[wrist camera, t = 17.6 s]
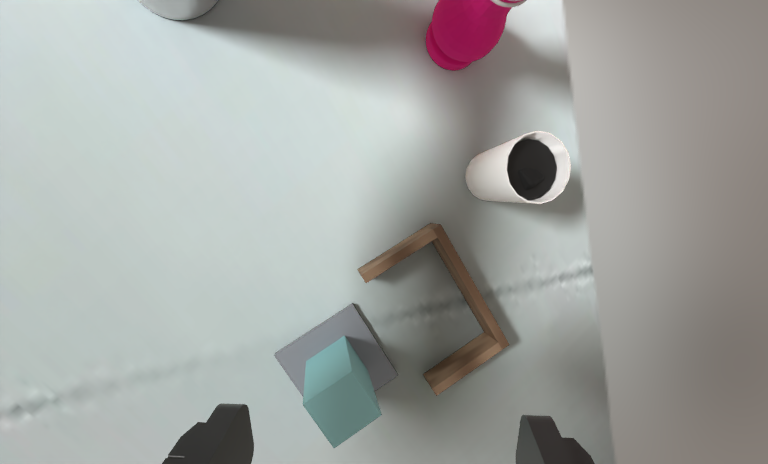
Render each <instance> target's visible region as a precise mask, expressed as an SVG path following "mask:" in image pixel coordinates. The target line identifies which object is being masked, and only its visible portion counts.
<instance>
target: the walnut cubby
mask: <svg viewBox="0 0 768 464" xmlns="http://www.w3.org/2000/svg"><path fill="white" fill-rule="evenodd" d="M431 241H432V243H433V245H434V246H435V248H436V250H437V252H438V253H439V255H440V257H441V258H442V260H443V262H444V264H445V265H446V267H447V269H448V271H449V272H450V274H451V276H452V277H453V279H454V281H455V283H456V284H457V286H458V288H459V289H460V291H461V293H462V295H463V296H464V298H465V300H466V302H467V303H468V305H469V307H470V308H471V310H472V312H473V314H474V315H475V317H476V319H477V321H478V322H479V324H480V326H481V327H482V329H483V331H484V333H482V334H481V335H479V336H478V337H476V338H475V339H473V340H472V341H471V342H469V343H468V344H466V345H465V346H463V347H462V348H460V349H459V350H458V351H456V352H455V353H453V354H452V355H450V356H449V357H447V358H446V359H444V360H443V361H442V362H440V363H439V364H437V365H436V366H434V367H433V368H431V369H430V370H429V371H427V372H426V373H424V374H423V375H424V377H425V378H426V380H427V382H428V383H429V385H430V386H431V388H432V390H433V391H434V393H435V394H436V396H437V395H438V394H440V393H441V392H443V391H444V390H446V389H447V388H448V387H450V386H451V385H453V384H454V383H456V382H457V381H458V380H460V379H461V378H463V377H464V376H465V375H467V374H468V373H470V372H471V371H473V370H474V369H475V368H477V367H478V366H480V365H481V364H483V363H484V362H485V361H487V360H488V359H490V358H491V357H493V356H494V355H495V354H497V353H498V352H500V351H501V350H502V349H504V348H505V347H507V346H508V345H509V343H508V341H507V340H506V338H505V336H504V334H503V333H502V331H501V329H500V327H499V326H498V324H497V322H496V320H495V319H494V317H493V315H492V313H491V312H490V310H489V308H488V306H487V305H486V303H485V301H484V299H483V298H482V296H481V294H480V292H479V291H478V289H477V287H476V285H475V284H474V282H473V280H472V278H471V277H470V275H469V273H468V271H467V270H466V268H465V266H464V264H463V263H462V261H461V259H460V257H459V256H458V254H457V252H456V250H455V249H454V247H453V245H452V243H451V242H450V240H449V238H448V236H447V235H446V233H445V231H444V229H443V228H442V226H441V224H434V223H430V224H428V225H427V226H425V227H424V228H422V229H421V230H419V231H417V232H416V233H414V234H413V235H411V236H409V237H408V238H406V239H405V240H403V241H402V242H400V243H398V244H397V245H395V246H394V247H392V248H391V249H389V250H387V251H386V252H384V253H383V254H381V255H380V256H378V257H376V258H375V259H373V260H372V261H370V262H368V263H367V264H365V265H364V266H362V267H361V268H359V269H357V270H358V271H359V273H360V274H361V276H362V278H363V279H364V281H365V282H366V283H367V282H369V281H370V280H372V279H373V278H375V277H377V276H378V275H380V274H381V273H383V272H384V271H386V270H387V269H389V268H391V267H392V266H394V265H395V264H397V263H398V262H400V261H401V260H403V259H405V258H406V257H408V256H409V255H411V254H412V253H414V252H416V251H417V250H419V249H420V248H422V247H423V246H425V245H426V244H428V243H430V242H431Z"/></svg>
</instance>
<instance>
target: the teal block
mask: <svg viewBox="0 0 768 464" xmlns="http://www.w3.org/2000/svg"><path fill="white" fill-rule="evenodd" d="M303 406H304V407H305V408H306V410H307V411H308V413H309V414H310V415H311V417H312V418H313V420H314V421H315V422H316V424H317V425H318V427H319V428H320V429H321V431H322V432H323V434H324V435H325V436H326V438H327V439H328V441H329V442H330V443H331V445H332V446H333V448H335V447H337V446H338V445H340V444H341V443H342V442H344V441H345V440H347V439H348V438H349V437H351V436H352V435H354V434H355V433H357V432H358V431H359V430H361V429H362V428H364V427H365V426H367V425H368V424H369V423H371V422H372V421H374V420H375V419H376V418H378V417H379V416H381V415H382V414H381V411H380V408H379V405H378V401H377V398H376V395H375V392H374V388H373V385H372V382H371V379H370V375H369V372H368V370H367V368H366V367H365V365H364V364H363V362H362V361H361V359H360V358H359V356H358V355H357V353H356V352H355V350H354V349H353V347H352V346H351V344H350V343H349V341H348V340H347V338H346V337H345V336H343V337H342V338H340V339H339V340H337V341H336V342H334V343H333V344H331V345H330V346H328V347H327V348H325V349H324V350H322V351H321V352H319V353H317V354H316V355H314V356H313V357H311V358H310V359H308V360H307V361H306V368H305V382H304V395H303Z"/></svg>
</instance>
